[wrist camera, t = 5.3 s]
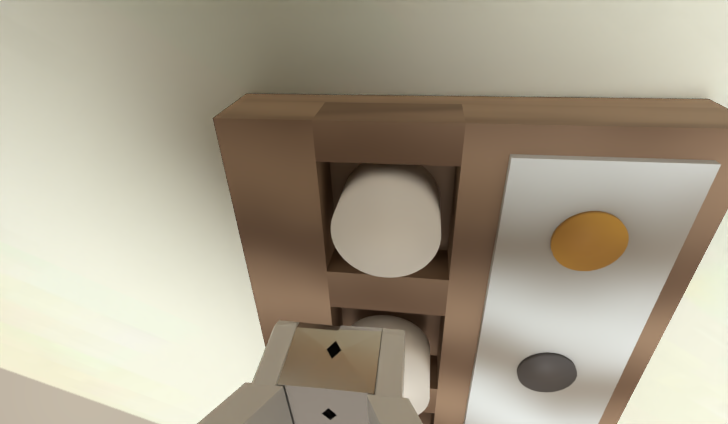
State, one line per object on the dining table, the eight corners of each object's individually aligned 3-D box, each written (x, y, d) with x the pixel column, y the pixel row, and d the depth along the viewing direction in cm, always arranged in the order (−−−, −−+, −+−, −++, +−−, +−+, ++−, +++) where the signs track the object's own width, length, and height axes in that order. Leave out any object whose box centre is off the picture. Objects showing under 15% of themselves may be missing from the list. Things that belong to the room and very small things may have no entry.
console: (246, 93, 17) (205, 123, 14) (709, 99, 14) (781, 136, 11) (303, 413, 28) (288, 466, 25) (564, 445, 26) (581, 507, 23)
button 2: (340, 154, 16) (326, 183, 14) (443, 157, 15) (445, 188, 13) (345, 237, 18) (334, 273, 16) (436, 242, 18) (437, 281, 15)
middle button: (342, 311, 18) (331, 357, 16) (432, 319, 18) (432, 367, 16) (347, 368, 20) (337, 415, 18) (427, 377, 20) (427, 426, 18)
